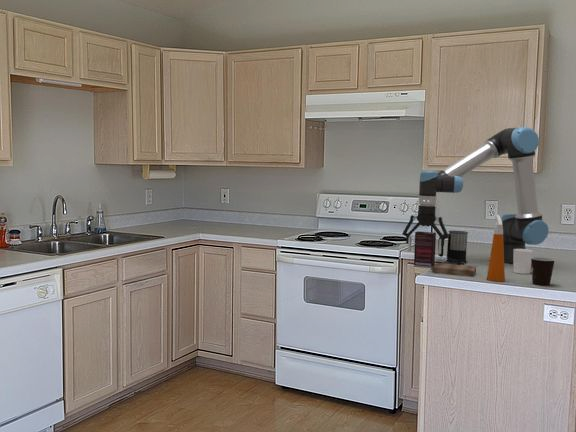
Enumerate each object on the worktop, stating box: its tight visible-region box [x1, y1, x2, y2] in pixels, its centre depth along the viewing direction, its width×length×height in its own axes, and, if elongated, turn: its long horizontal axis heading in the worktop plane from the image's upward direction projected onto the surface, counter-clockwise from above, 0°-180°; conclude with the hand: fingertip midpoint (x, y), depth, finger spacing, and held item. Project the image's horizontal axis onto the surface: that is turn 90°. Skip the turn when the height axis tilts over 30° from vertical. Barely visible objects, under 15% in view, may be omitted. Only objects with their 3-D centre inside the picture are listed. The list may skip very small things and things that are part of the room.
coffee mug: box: [531, 256, 555, 287], centre depth 239 cm, size 12×9×10 cm
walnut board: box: [431, 262, 477, 278], centre depth 259 cm, size 17×12×2 cm
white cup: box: [512, 248, 534, 275], centre depth 263 cm, size 8×8×10 cm
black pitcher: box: [437, 230, 469, 265], centre depth 283 cm, size 14×16×15 cm
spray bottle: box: [486, 214, 506, 282], centre depth 245 cm, size 7×11×26 cm, turn 171°
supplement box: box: [413, 230, 437, 269], centre depth 270 cm, size 9×5×16 cm, turn 62°
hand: (424, 252), depth 270 cm, fingers open, 13 cm apart
